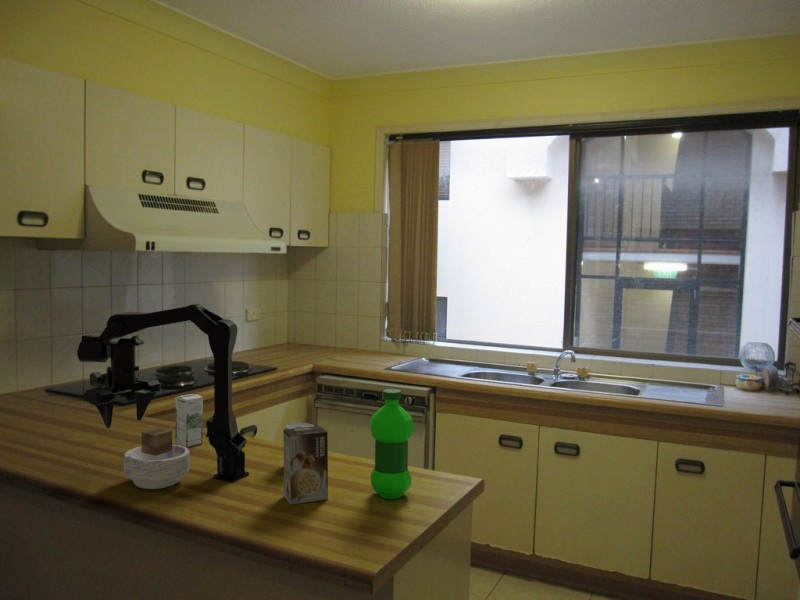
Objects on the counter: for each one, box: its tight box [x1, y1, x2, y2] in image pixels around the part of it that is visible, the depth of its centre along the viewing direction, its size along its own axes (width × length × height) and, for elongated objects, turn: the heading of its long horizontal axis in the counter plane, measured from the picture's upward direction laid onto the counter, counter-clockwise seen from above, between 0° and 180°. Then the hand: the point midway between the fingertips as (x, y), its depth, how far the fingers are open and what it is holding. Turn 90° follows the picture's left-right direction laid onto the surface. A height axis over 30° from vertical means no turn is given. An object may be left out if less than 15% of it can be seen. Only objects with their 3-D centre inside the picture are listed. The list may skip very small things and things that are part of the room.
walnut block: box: [141, 427, 173, 456], centre depth 161 cm, size 5×5×5 cm
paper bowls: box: [122, 443, 191, 490], centre depth 161 cm, size 15×15×8 cm
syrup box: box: [174, 393, 204, 448], centre depth 193 cm, size 6×6×14 cm
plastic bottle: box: [369, 388, 415, 500], centre depth 155 cm, size 10×10×25 cm
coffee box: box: [283, 425, 329, 506], centre depth 152 cm, size 9×6×16 cm
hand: (124, 423), depth 166 cm, fingers open, 9 cm apart
